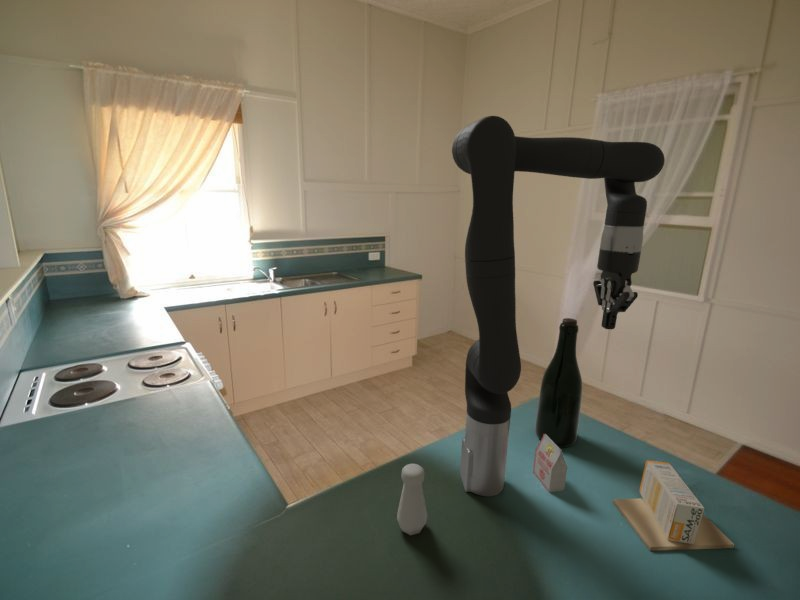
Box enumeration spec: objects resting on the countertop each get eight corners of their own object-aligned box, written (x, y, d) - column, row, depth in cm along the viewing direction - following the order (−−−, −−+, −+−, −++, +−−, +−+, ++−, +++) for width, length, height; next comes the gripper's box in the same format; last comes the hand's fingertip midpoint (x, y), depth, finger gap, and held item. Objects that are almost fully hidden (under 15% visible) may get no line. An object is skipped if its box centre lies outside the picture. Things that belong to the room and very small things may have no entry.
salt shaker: (430, 520, 79) (432, 462, 76) (422, 542, 74) (424, 482, 71) (402, 512, 81) (403, 456, 78) (392, 533, 76) (393, 474, 73)
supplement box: (661, 494, 86) (695, 545, 74) (637, 491, 87) (667, 541, 74) (670, 461, 84) (706, 508, 72) (645, 458, 85) (677, 504, 72)
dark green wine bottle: (564, 453, 101) (581, 328, 93) (527, 435, 108) (539, 318, 100) (583, 438, 108) (600, 320, 100) (546, 421, 115) (559, 311, 107)
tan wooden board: (649, 550, 73) (650, 547, 73) (612, 502, 85) (613, 499, 85) (733, 547, 74) (734, 544, 74) (685, 500, 86) (686, 497, 86)
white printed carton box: (547, 470, 95) (552, 432, 92) (564, 490, 88) (569, 450, 86) (533, 472, 94) (537, 434, 91) (548, 492, 88) (553, 452, 85)
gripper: (586, 244, 89) (576, 319, 93) (621, 252, 76) (608, 338, 80) (619, 244, 89) (607, 319, 94) (659, 252, 76) (644, 338, 81)
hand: (607, 328), depth 87 cm, fingers closed
